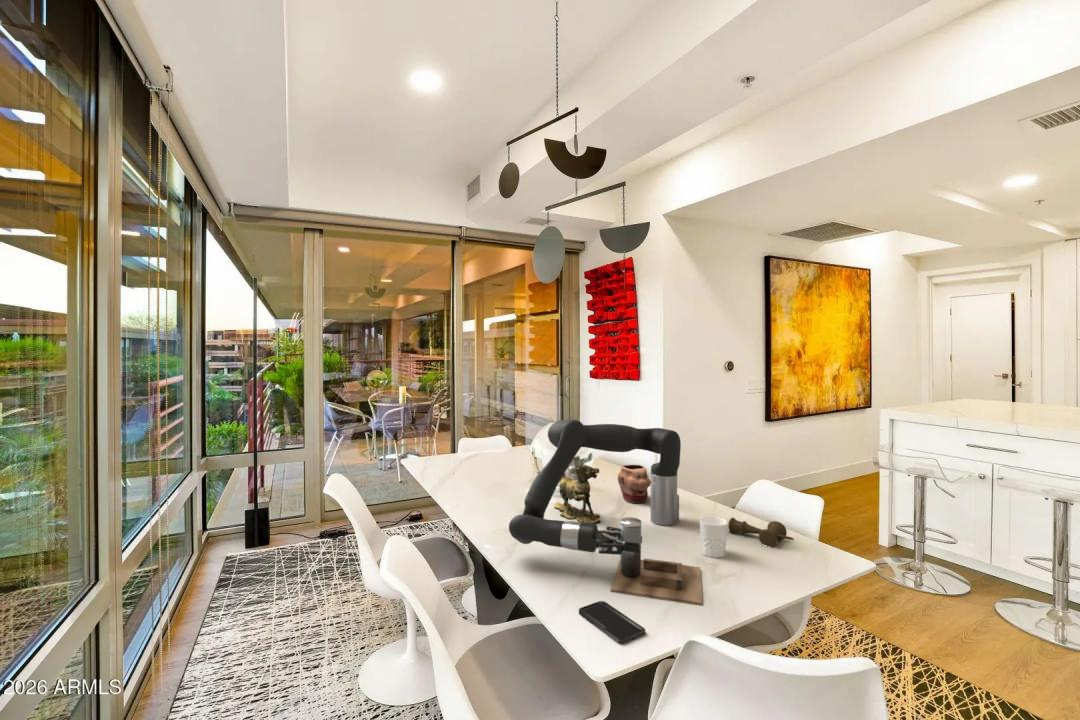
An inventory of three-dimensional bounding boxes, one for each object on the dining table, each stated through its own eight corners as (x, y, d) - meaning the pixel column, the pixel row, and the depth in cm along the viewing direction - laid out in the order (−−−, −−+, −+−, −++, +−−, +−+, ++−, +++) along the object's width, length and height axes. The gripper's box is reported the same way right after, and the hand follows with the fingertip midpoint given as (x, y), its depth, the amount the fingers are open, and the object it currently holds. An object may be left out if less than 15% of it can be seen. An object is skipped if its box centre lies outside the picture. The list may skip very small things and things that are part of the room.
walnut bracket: (610, 591, 121) (610, 579, 121) (620, 559, 140) (620, 548, 140) (702, 605, 115) (702, 592, 115) (699, 569, 134) (699, 558, 134)
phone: (602, 600, 115) (647, 630, 103) (602, 604, 116) (647, 635, 103) (576, 609, 111) (620, 642, 99) (576, 614, 111) (620, 647, 99)
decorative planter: (607, 494, 206) (608, 461, 205) (632, 491, 210) (632, 459, 210) (633, 508, 187) (633, 472, 187) (659, 504, 191) (659, 470, 191)
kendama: (736, 529, 166) (798, 543, 152) (724, 537, 159) (789, 553, 146) (735, 512, 166) (798, 525, 152) (723, 519, 159) (788, 534, 145)
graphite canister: (632, 565, 133) (632, 516, 133) (645, 574, 128) (645, 522, 128) (616, 570, 131) (616, 519, 131) (628, 578, 126) (629, 525, 126)
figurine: (581, 527, 166) (582, 469, 166) (543, 507, 187) (543, 455, 187) (610, 520, 173) (610, 464, 172) (570, 502, 194) (570, 452, 194)
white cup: (726, 550, 147) (726, 517, 147) (727, 560, 140) (728, 526, 140) (699, 546, 150) (699, 515, 150) (699, 556, 142) (699, 523, 142)
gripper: (573, 532, 127) (638, 540, 122) (584, 514, 140) (643, 521, 136) (573, 560, 127) (638, 569, 122) (584, 539, 141) (643, 547, 136)
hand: (640, 543), depth 129 cm, fingers closed on graphite canister, 5 cm apart
